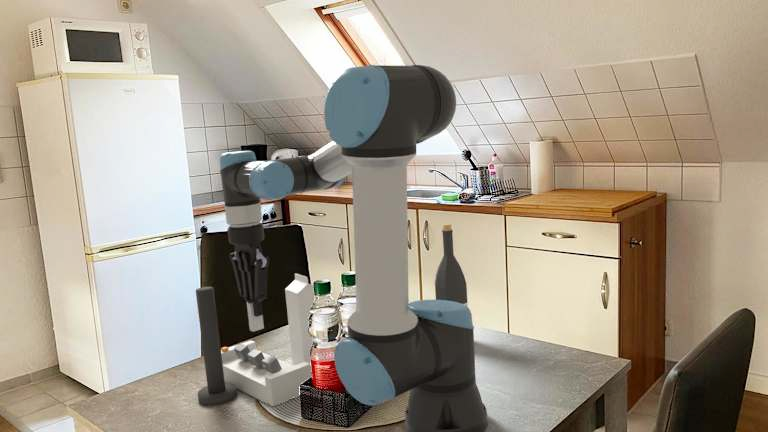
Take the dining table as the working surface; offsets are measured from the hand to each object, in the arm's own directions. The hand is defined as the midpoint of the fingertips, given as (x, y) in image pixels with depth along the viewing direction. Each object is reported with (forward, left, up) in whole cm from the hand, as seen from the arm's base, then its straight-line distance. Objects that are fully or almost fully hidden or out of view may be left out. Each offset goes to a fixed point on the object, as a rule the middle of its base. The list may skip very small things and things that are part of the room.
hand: (256, 329), depth 141 cm
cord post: (+2, +10, -13) cm, 16 cm away
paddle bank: (0, 0, -8) cm, 8 cm away
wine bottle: (-18, -44, -13) cm, 49 cm away
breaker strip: (0, 0, -13) cm, 13 cm away
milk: (0, -13, -13) cm, 18 cm away
